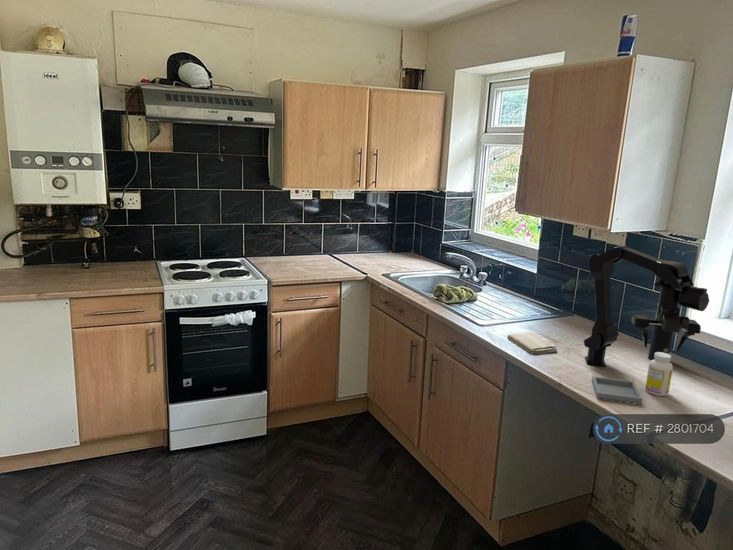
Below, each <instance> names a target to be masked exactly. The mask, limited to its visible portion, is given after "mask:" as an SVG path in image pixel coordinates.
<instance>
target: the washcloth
mask: <svg viewBox="0 0 733 550" xmlns="http://www.w3.org/2000/svg"><path fill="white" fill-rule="evenodd" d="M506 337H507V339H508V340H510V341H511V342H512V343H514V344H516V345H517V346H518V347H520V348H522V349H523V348H524V350H525V351H526V350H527V351H526V352H528V353H529V352H530V353H531V354H530V353H529V354H530V355H543V353H544V354H551V353H557V352H558V349H557V345H556V344H554V343H553V342H551V339H547V338H546V337H544V336H543V335H540V334H538V333H537V332H535V331H528V332H527V331H526V332H522V333H511V334H508V335H507V336H506Z"/></svg>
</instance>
